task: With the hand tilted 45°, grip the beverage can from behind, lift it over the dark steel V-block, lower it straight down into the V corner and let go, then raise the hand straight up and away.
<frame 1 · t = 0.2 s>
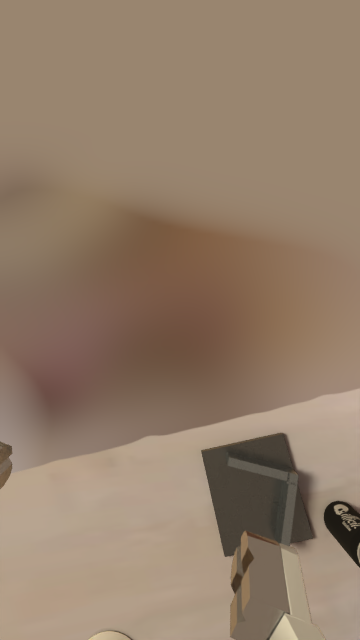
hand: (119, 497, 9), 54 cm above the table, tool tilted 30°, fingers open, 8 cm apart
v block: (253, 490, 56), on the table
beverage can: (338, 516, 55), on the table
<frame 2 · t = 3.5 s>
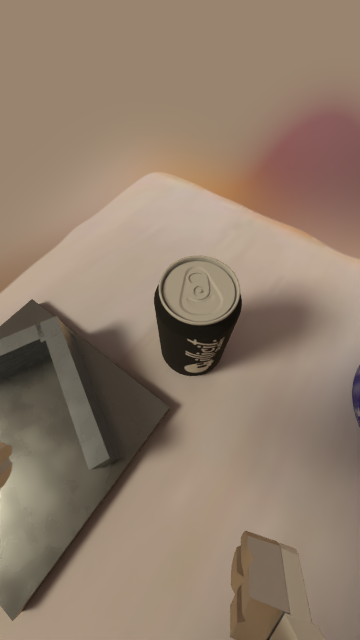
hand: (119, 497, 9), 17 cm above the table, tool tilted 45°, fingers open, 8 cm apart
v block: (31, 422, 26), on the table
beverage can: (191, 349, 29), on the table
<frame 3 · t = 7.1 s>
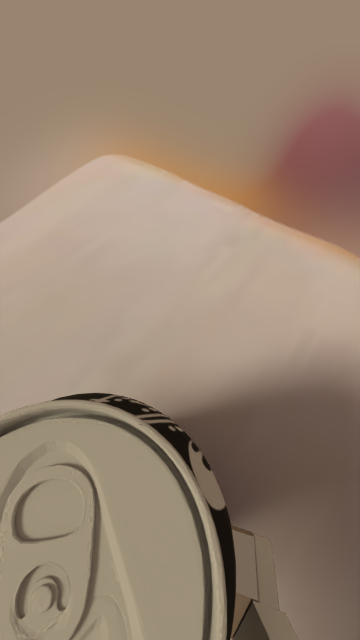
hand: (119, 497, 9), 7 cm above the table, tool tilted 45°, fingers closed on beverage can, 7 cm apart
beverage can: (139, 492, 15), on the table, touching gripper
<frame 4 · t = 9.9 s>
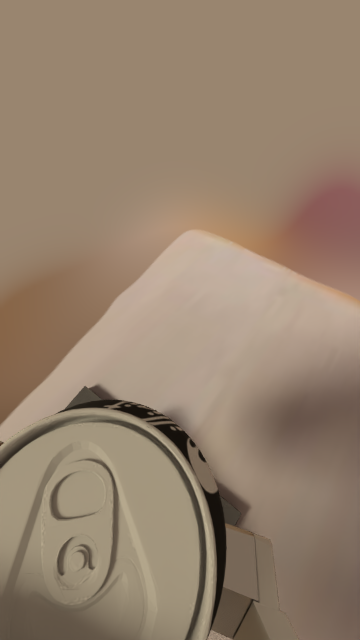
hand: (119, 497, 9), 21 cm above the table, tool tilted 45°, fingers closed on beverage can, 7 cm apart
v block: (96, 530, 25), on the table
beverage can: (145, 483, 16), point 12 cm above the table, touching gripper
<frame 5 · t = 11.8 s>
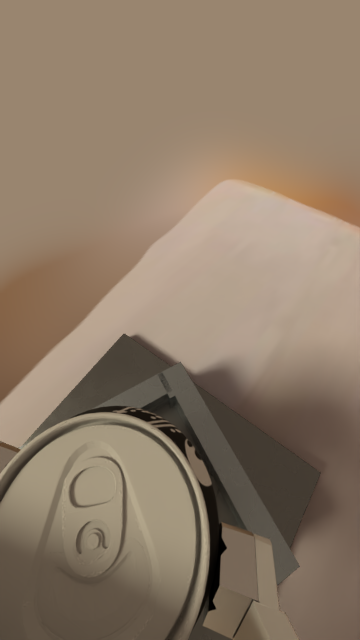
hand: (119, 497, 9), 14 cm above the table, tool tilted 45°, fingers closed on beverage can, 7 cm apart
v block: (147, 493, 21), on the table
beverage can: (145, 486, 17), point 4 cm above the table, touching gripper
when the fingers open (11 cm above the table, at t = 13.0 s): beverage can stays where it is, resting on v block.
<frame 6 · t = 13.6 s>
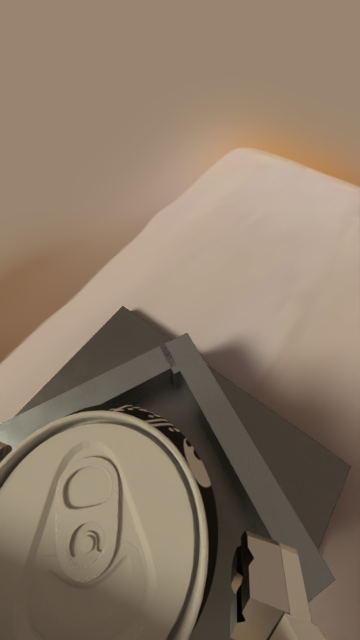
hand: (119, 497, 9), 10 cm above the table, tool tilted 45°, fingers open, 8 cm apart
v block: (146, 486, 18), on the table
beverage can: (144, 485, 17), point 1 cm above the table, touching v block
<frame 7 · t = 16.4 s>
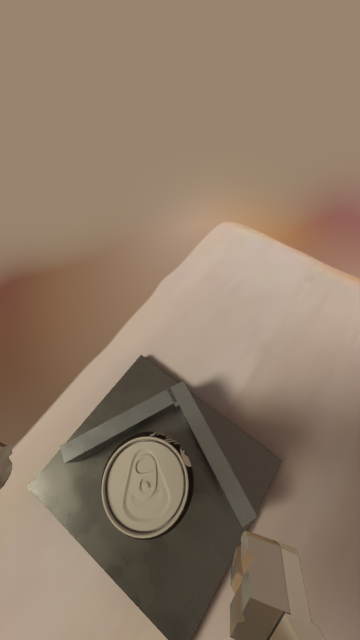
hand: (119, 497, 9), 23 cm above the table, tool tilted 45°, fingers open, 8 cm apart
v block: (158, 472, 29), on the table
beverage can: (157, 472, 28), point 1 cm above the table, touching v block
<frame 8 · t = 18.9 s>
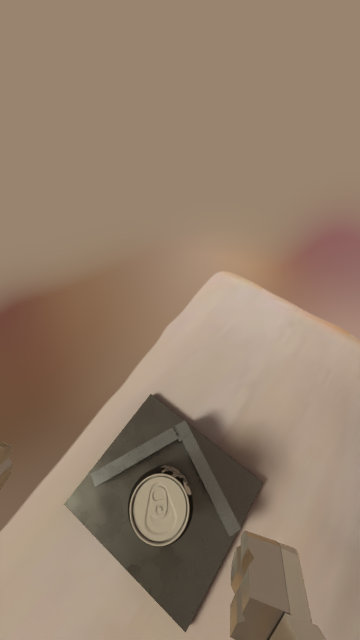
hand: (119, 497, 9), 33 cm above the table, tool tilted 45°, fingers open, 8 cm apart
v block: (165, 492, 37), on the table
beverage can: (165, 492, 36), point 1 cm above the table, touching v block
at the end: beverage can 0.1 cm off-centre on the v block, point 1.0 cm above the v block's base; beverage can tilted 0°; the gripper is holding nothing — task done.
